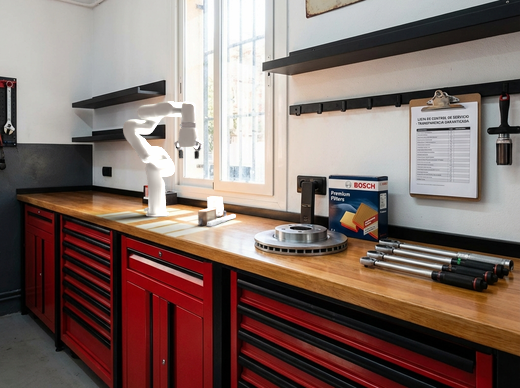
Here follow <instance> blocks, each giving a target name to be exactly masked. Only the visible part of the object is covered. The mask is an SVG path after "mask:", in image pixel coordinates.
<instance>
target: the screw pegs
mask: <svg viewBox="0 0 520 388" xmlns="http://www.w3.org/2000/svg"><path fill="white" fill-rule="evenodd" d="M225 216H227V210H223V213H222V217H225ZM198 226H200V227H201V226H202V227H203V226H204V225H203V218H199V225H198Z"/></svg>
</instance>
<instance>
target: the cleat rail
mask: <svg viewBox="0 0 520 388" xmlns="http://www.w3.org/2000/svg"><path fill="white" fill-rule="evenodd" d="M236 216H237V215H236V213H235V214H234V213H231V214H227V215H226V216H225V217H223V216H222V217H219V218H216V219H215V220H212V221H209V222H207V225H206V226H207V227H213V226H217V225H219V224H222V223H225V222H227V221H231V220H233V219H236Z"/></svg>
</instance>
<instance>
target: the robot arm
mask: <svg viewBox="0 0 520 388" xmlns="http://www.w3.org/2000/svg"><path fill="white" fill-rule="evenodd" d="M137 116H138V117H139V118H140V119H135V118H133V119H132V118H131V119H128V120H126V121H125V122H124V123H123V126H122V130H123V131H122V132H123V135H124V139H126V141H127V142H128V144H130V146H131V147H132V149H133V150H134V152H135V154H137V156H138V158H139V159H140V161H141V162H142V163H145V164H146V165H145V168H144V169H145V174H146V179H147V180H146V181H147V194H148V195H147V199H148V207H145V208H144V209H143V212H146V213H145V215H146V217H155V218H156V217H166V216H169V212H167V208H166V203H167V202H166V184H165V181H164V179H163V177H170V176H172V175H173V174H175V170H176V168H175V167H176V166H175V164H174V162H173V161H172V159H171V158H170V156H169V155H168V153H167V152H166V151H165V149H163V148H162V147H160V146H151V145H150V144H149V143H148V142H147V140H146V139H145V138H144V137H143V136H141V135H150V134H151V133H153V131H154V130H155V128H156V127H157V125H158V124H159V123H160V121H161V120H162V119H163V118H164V117H173V118H174V117H175V118H180V124H178V125H179V127H180V128H179V131H178V140H177V141H175V142H174V147H175V149H176V150H177V152H178V159H184V151H183V150H184V148H189V149H190V148H193V150H194V160H197V159H198V160H199V157H200V151H201V149H203V145H204V142H202V141H201V140H199V133H198V129H197V128H196V125H197V124H196V123H197V122H196V120H197V119H196V118H197V117H196V116H197V115H196V104H195V103H194V102H189V101H184V102H174V101H163V102H157V103H154V104H143V105H140V106H139V107H138V108H137Z"/></svg>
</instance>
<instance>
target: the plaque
mask: <svg viewBox="0 0 520 388" xmlns="http://www.w3.org/2000/svg"><path fill="white" fill-rule="evenodd" d="M197 216H198V218H197V220H198V221H197V222H198V226H199V218H203V225H202V226H207V222H209V221H212V220H215V219H217V217H216V209H210V208H208V207H207V208H205V209H201V210H198V211H197Z"/></svg>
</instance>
